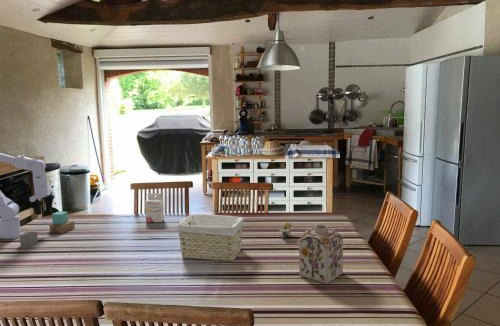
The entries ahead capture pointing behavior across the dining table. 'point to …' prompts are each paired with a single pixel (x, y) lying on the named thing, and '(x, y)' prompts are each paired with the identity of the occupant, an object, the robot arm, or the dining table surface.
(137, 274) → the dining table surface
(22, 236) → the gray cube
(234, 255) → the storage basket
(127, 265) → the dining table surface
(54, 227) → the base block
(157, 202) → the ink cartridge box
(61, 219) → the teal cube
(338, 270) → the decorative jar
